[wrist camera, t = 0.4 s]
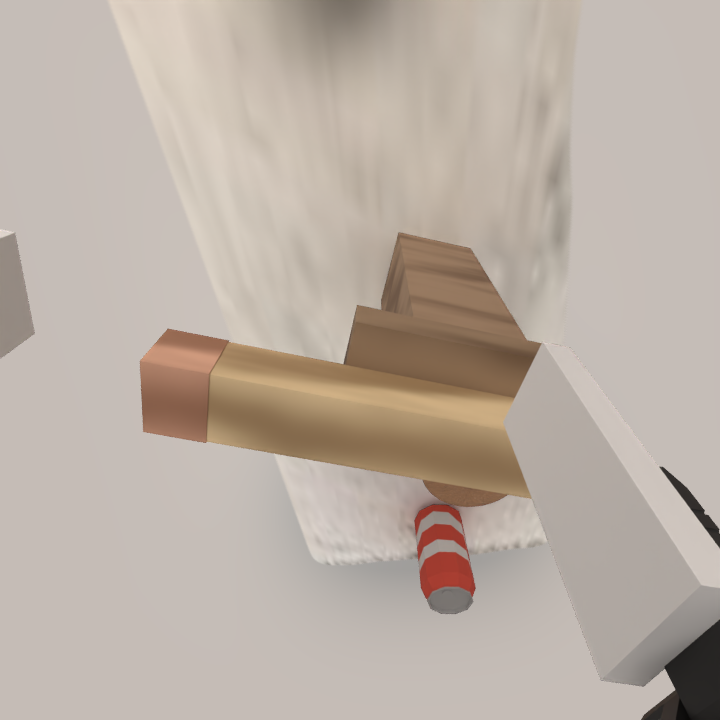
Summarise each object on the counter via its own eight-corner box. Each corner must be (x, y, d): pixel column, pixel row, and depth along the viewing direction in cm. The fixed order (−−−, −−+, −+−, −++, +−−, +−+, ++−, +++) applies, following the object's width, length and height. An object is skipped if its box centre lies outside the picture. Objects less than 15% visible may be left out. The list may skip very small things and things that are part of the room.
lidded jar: (499, 459, 56) (520, 521, 48) (413, 457, 56) (419, 518, 48) (514, 388, 50) (541, 444, 42) (419, 386, 51) (427, 442, 43)
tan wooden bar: (167, 328, 22) (139, 361, 20) (617, 416, 24) (647, 456, 22) (168, 394, 24) (143, 432, 22) (582, 470, 26) (606, 513, 24)
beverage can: (454, 496, 59) (470, 580, 49) (464, 526, 63) (482, 612, 52) (409, 505, 61) (417, 590, 50) (422, 535, 64) (431, 620, 53)
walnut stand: (364, 213, 41) (355, 321, 22) (479, 239, 42) (569, 365, 23) (345, 302, 46) (324, 456, 26) (449, 323, 46) (502, 488, 27)
